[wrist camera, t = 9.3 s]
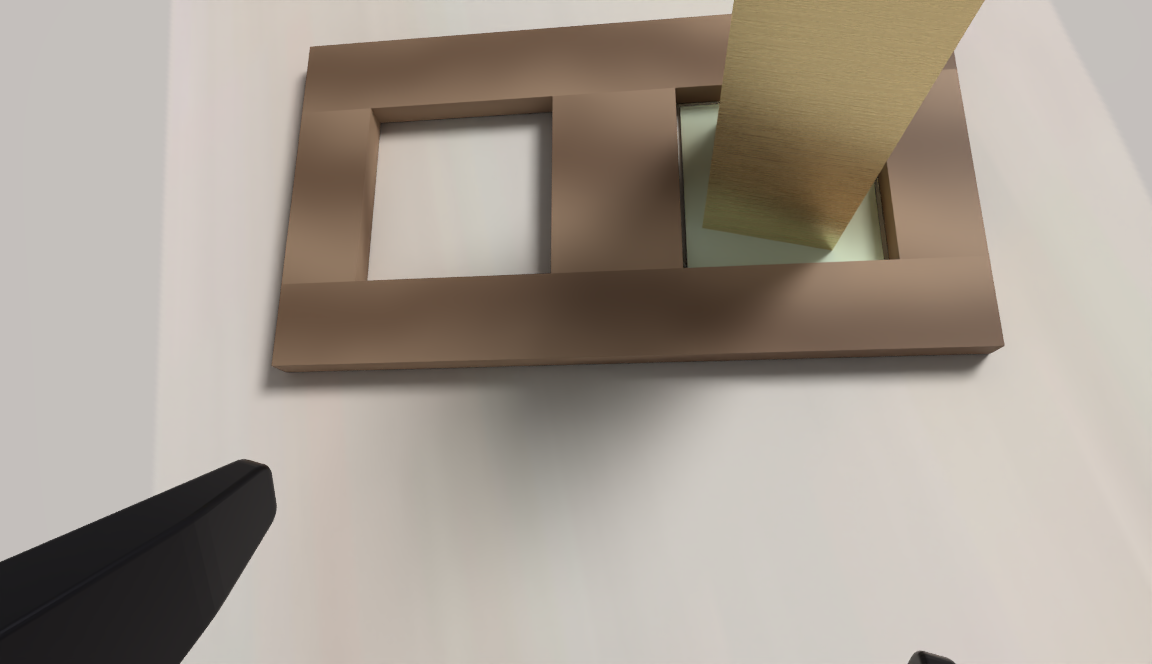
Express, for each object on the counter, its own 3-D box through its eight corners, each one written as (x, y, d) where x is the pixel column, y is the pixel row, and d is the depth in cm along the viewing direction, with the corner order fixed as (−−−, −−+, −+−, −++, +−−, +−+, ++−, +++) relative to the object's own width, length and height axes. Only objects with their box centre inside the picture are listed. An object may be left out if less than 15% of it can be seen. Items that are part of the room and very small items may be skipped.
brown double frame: (990, 353, 23) (1004, 345, 22) (286, 372, 26) (271, 365, 25) (934, 16, 27) (944, -3, 26) (321, 62, 29) (310, 46, 28)
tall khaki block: (832, 250, 24) (985, -2, 13) (702, 228, 25) (738, -30, 14) (850, 135, 26) (1007, -191, 14) (725, 117, 26) (776, -206, 15)
